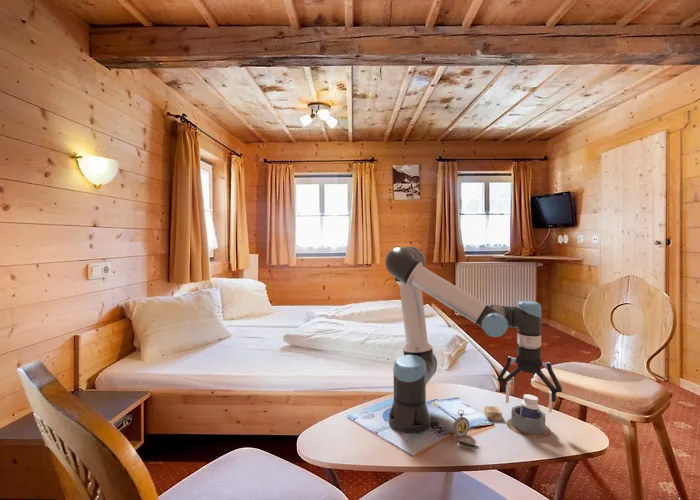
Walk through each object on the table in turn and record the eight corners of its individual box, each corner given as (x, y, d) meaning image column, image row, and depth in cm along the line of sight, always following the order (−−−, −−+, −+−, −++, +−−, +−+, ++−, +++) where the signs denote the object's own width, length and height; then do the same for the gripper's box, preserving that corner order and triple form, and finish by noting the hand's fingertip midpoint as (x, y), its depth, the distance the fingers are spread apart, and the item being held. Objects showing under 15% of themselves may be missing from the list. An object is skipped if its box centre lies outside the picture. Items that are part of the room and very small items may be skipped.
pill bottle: (540, 430, 124) (542, 401, 124) (522, 427, 125) (524, 399, 124) (534, 421, 130) (536, 394, 129) (517, 419, 131) (519, 392, 130)
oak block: (487, 422, 133) (487, 412, 133) (484, 416, 138) (484, 406, 138) (501, 423, 132) (501, 413, 132) (498, 417, 137) (498, 406, 137)
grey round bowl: (510, 429, 126) (510, 415, 125) (513, 417, 135) (513, 403, 135) (544, 438, 120) (544, 422, 120) (545, 424, 129) (545, 409, 129)
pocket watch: (476, 453, 114) (476, 421, 114) (450, 445, 118) (450, 414, 118) (482, 440, 121) (482, 411, 121) (457, 433, 125) (457, 405, 125)
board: (503, 434, 125) (503, 430, 125) (508, 417, 137) (509, 414, 137) (550, 445, 118) (550, 442, 118) (551, 426, 130) (551, 423, 130)
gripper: (489, 343, 130) (488, 402, 130) (570, 354, 117) (570, 419, 118) (492, 338, 136) (492, 394, 137) (570, 348, 124) (569, 409, 124)
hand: (528, 406), depth 127 cm, fingers open, 13 cm apart
